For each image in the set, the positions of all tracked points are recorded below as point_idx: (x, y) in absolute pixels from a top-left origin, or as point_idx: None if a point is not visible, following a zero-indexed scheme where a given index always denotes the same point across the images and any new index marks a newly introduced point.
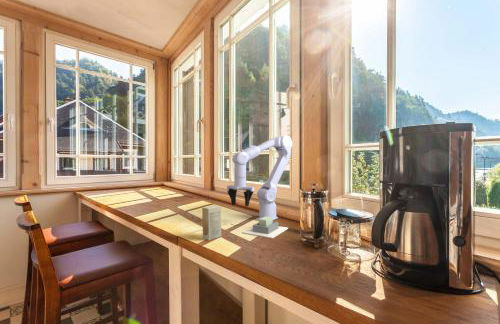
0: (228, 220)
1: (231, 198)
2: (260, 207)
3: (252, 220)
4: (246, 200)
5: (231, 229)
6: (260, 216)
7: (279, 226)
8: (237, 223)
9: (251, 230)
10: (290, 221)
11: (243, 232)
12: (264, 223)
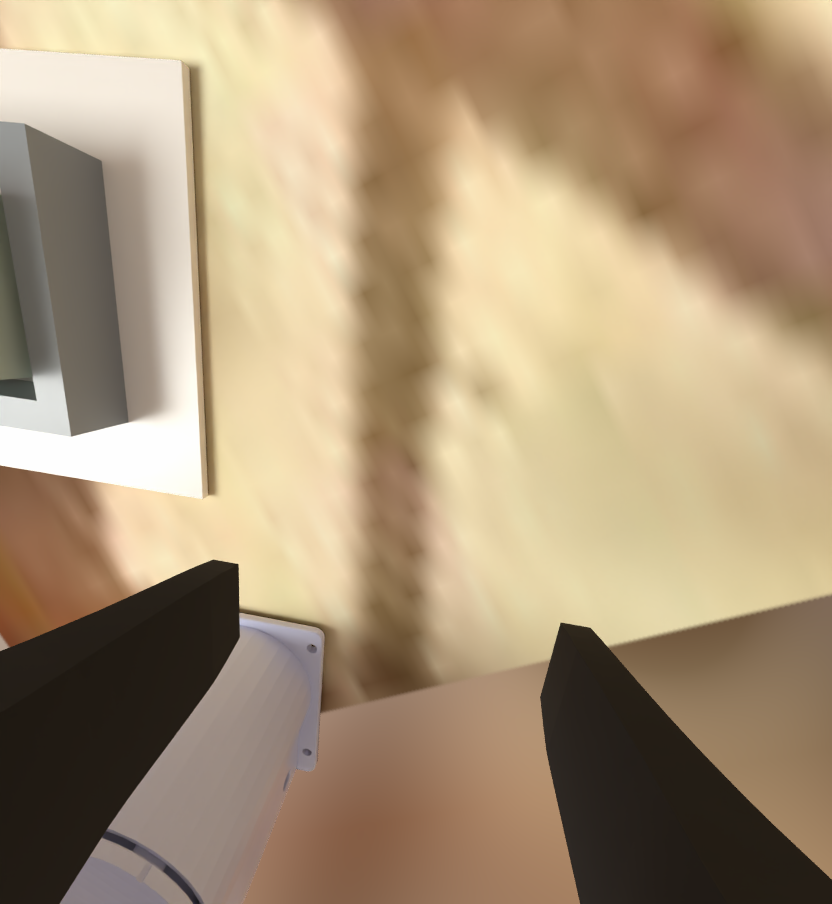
0: (603, 530)
1: (678, 770)
2: (199, 762)
3: (350, 605)
4: (61, 626)
5: (382, 162)
6: (264, 660)
7: (6, 460)
8: (441, 446)
9: (131, 191)
10: None
11: (163, 61)
12: None
